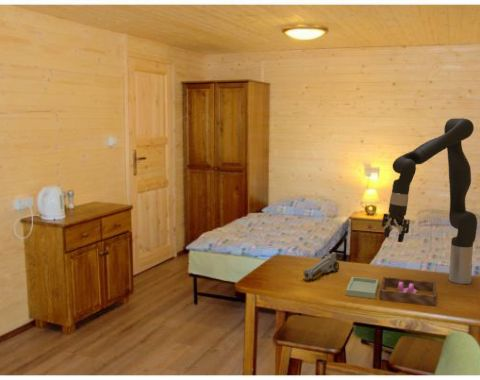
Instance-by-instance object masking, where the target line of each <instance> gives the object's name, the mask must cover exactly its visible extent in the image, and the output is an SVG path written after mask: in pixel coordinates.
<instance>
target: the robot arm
mask: <svg viewBox="0 0 480 380" xmlns="http://www.w3.org/2000/svg"><path fill="white" fill-rule="evenodd" d="M474 129H475V128H474V123H473V122H472V120H470V119H469V118H462V117H461V118H450V119H448V120H447V121H446V122H445V125H444V129H443V130H444V133H443V134H442V135H440V136H437V137H435V138H433V139H429V140H428V141H426V142H424V143H422V144H421V145H419V146H417V147H416V148H415V149H413V150H412V151H408V152H407V153H404V154H402V155H400V156H399V157H397V158H396V159H395V160H394V161H393V162H392V170H393V171H394V172H395V173H396V174H399V176H398V178H397V179H395V180H394V181H393V183H392V189H391V194H390V199H389V204H388V205H389V206H388V213H383V217H382V222H381V227H382V228H384V231H383V237H384V238H389V237H390V232H391V228H392V227H395V228H396V229H397V230H398V237H397V242H398V243H403V242H404V237H405V234H409V232H410V223H411V221H410V219H405V216H406V215H407V210H408V205H409V204H408V203H409V194H410V193H409V192H410V186H411V183H412V181H413V178H414V177H415V175H416V170H417V166H418V165H423V164H424V163H426V162H427V161H429V160H430V159H432V158H433V157H434V156H436V155H438V154H439V153H441V152H442V151H444V150H447V161H448V162H447V163H448V164H447V165H448V183H449V218H448V219H449V223H450V225H451V226H452V227H453V228H454V229H456V230H457V233H456V236H454V237H452V238H451V242H450V257H449V258H450V260H449V273H448V280H449V282H452V283H453V284H454V283H456V284H459V285H462V284H463V285H464V284H465V285H467V284H468V285H469V284H472V270H473V263H472V262H473V249H474V242H475V241H476V236H477V229H478V218H477V215H476V214H474V213H473V212H471V211H468V210H466V209H467V208H466V196H467V193H468V191H469V190H470V188H471V183H472V172H471V171H472V170H471V165H470V162H469V161H468V159H467V157H466V155H465V152H464V151H463V150H464V149H463V146H462V145H463V143H462V142H463V141H464V140H466V139H468V138H469V137H471V136H472V134H473V132H474Z"/></svg>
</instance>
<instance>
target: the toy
mask: <svg viewBox="0 0 480 380" xmlns="http://www.w3.org/2000/svg"><path fill="white" fill-rule="evenodd" d="M339 270H340V264H339V262H338V261H337V253H336V252H334V251H332V252H331V253H330V252H329V251H328V252H326V253H325V255H324V257H323V258H322V259H321V260H320V261H318V262H317V263H315V264H313V265H312V266H311V267H310V268H305V269H304V270H303V277H304V278H305V279H306V280H310V281H314V280H316V279H317V278H318V277H319V276H321V274H323V273H327V274H328V273H330V272H331V271H332V272H335V273H336V272H338V271H339Z"/></svg>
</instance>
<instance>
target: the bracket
mask: <svg viewBox="0 0 480 380" xmlns="http://www.w3.org/2000/svg"><path fill="white" fill-rule="evenodd" d="M397 291H398V292H407V293H416V294H418V293H417V292H418V290H416V289H414V284H411V283H410V284H409V288H404V283H403V282H399V285H398V288H397Z"/></svg>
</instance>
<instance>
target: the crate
mask: <svg viewBox="0 0 480 380" xmlns="http://www.w3.org/2000/svg"><path fill="white" fill-rule="evenodd" d="M399 282H403V283H404V288H409V284H410V283H411V284H414V289H416V290H417V291H423V292H424V291H427V292H432V294H422V293H417V294H416V293H407V292H398V290H397V291H395V290H388V289H386V287H389V288H397V289H398V285H399ZM436 286H437V285H436V282H435V281H429V280H428V281H427V280H420V279H419V280H417V279H410V278H409V279H408V278H398V277H387V276H383V278H382V282H381V284H380V289H379V300H382V301H389V302H399V303H406V304H407V303H408V304H415V305H424V306H425V305H426V306H432V307H436V306H437V288H436Z"/></svg>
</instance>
